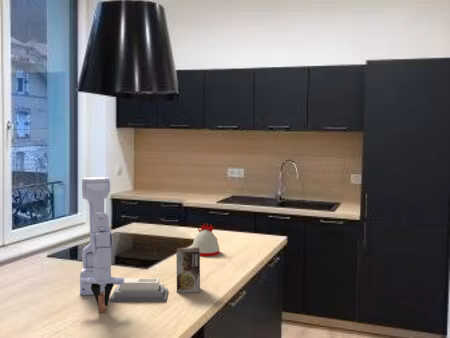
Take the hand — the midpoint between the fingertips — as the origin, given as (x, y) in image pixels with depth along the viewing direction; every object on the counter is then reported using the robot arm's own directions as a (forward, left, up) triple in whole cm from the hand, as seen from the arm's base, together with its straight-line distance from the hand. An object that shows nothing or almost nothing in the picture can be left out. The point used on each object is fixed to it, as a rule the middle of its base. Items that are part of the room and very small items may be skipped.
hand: (102, 305), depth 184 cm
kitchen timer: (+36, +81, -2) cm, 89 cm away
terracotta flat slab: (0, 0, -2) cm, 2 cm away
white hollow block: (+11, +15, -1) cm, 19 cm away
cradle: (+11, +15, -2) cm, 19 cm away
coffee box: (+29, +22, -2) cm, 36 cm away
